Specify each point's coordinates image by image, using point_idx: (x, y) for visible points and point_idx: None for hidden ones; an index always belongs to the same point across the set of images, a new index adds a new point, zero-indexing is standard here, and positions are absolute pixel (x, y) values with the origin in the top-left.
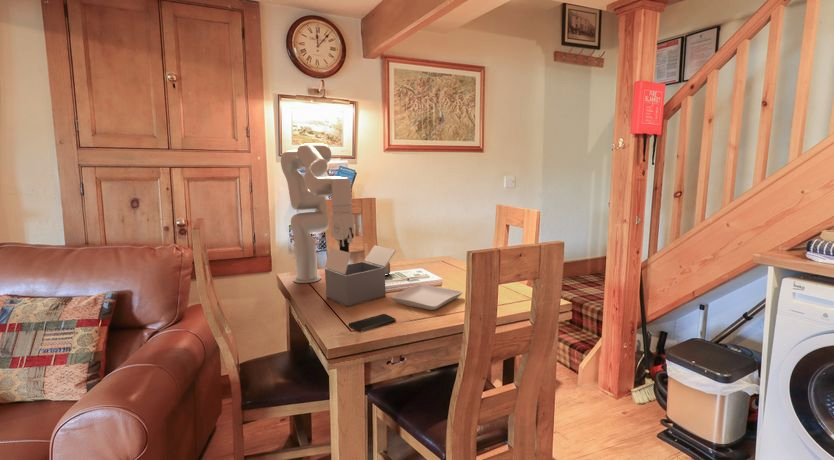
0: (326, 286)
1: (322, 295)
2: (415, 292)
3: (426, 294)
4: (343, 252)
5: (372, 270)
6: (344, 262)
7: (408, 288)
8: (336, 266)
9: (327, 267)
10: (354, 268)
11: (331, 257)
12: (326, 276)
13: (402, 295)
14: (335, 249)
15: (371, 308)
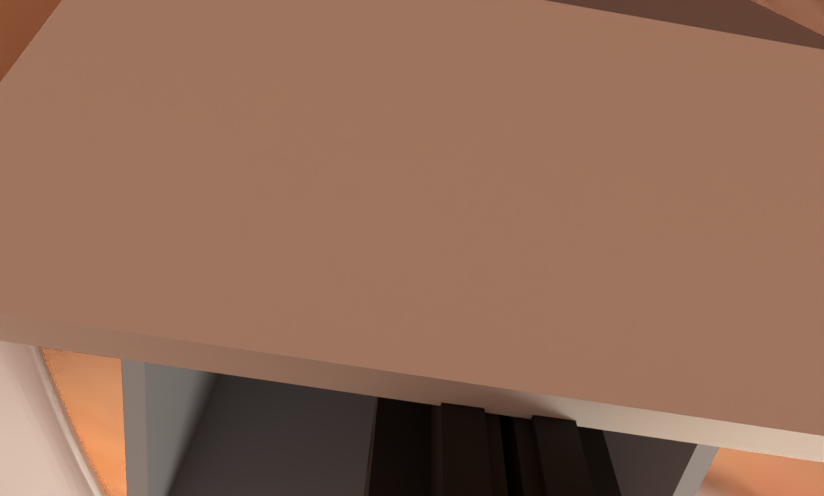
0: (748, 4)
1: (814, 6)
2: (77, 480)
3: (2, 493)
4: (248, 309)
5: (124, 412)
6: (135, 82)
7: (88, 479)
8: (468, 43)
9: (805, 54)
10: (639, 468)
11: (818, 213)
12: (794, 34)
13: (34, 367)
14: (791, 416)
15: (25, 25)
